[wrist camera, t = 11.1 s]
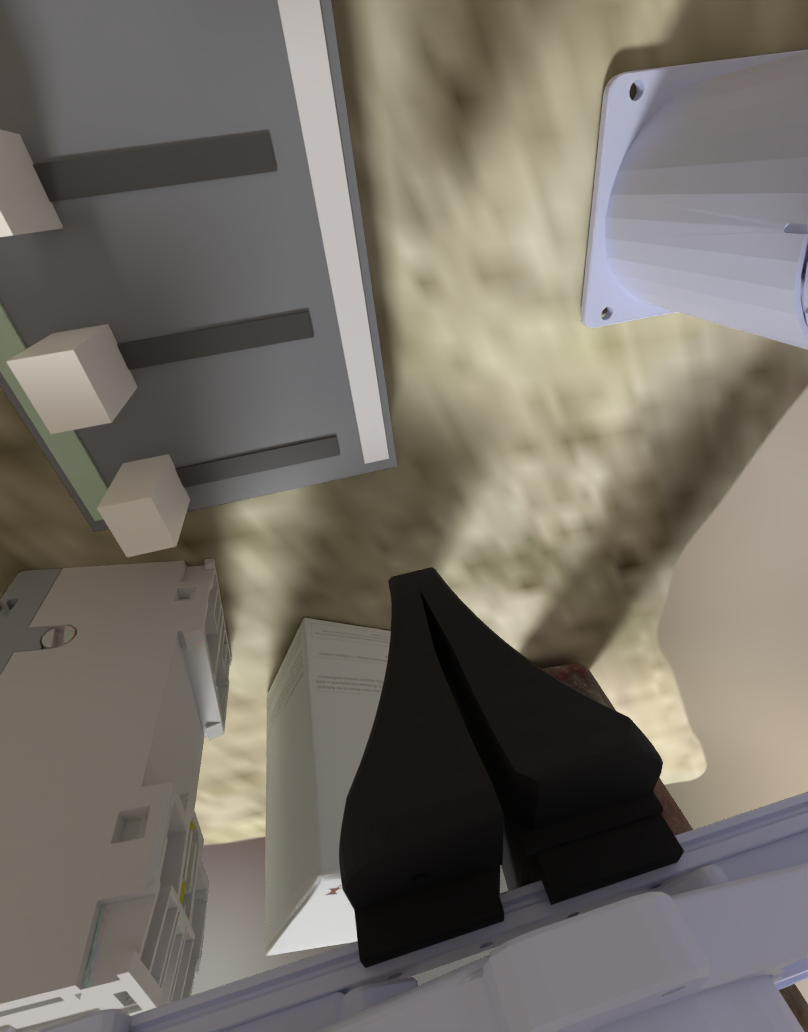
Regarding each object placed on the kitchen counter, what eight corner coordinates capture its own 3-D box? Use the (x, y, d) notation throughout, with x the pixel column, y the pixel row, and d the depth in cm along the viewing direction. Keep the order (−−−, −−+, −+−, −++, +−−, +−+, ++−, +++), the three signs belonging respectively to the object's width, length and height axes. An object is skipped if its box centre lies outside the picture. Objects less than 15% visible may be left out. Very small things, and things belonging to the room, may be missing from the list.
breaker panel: (289, -189, 11) (297, -442, 7) (386, 441, 21) (414, 505, 17) (-273, -163, 10) (-719, -454, 5) (112, 497, 20) (65, 584, 15)
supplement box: (263, 695, 29) (255, 962, 19) (303, 612, 26) (320, 879, 16) (369, 705, 32) (412, 939, 22) (416, 632, 29) (492, 866, 19)
